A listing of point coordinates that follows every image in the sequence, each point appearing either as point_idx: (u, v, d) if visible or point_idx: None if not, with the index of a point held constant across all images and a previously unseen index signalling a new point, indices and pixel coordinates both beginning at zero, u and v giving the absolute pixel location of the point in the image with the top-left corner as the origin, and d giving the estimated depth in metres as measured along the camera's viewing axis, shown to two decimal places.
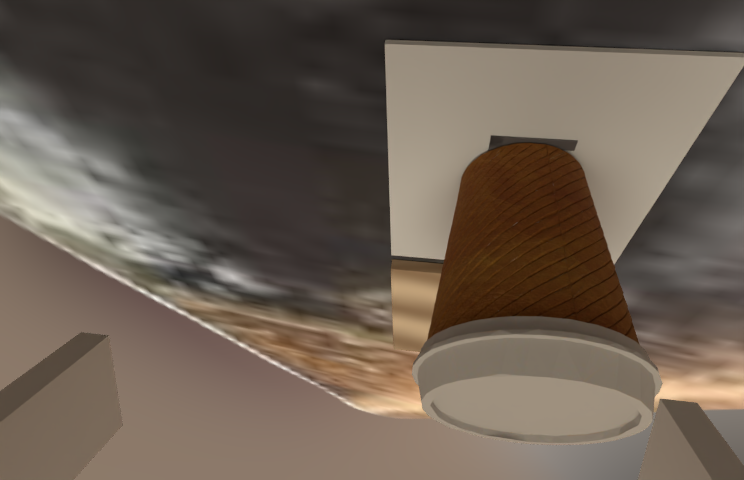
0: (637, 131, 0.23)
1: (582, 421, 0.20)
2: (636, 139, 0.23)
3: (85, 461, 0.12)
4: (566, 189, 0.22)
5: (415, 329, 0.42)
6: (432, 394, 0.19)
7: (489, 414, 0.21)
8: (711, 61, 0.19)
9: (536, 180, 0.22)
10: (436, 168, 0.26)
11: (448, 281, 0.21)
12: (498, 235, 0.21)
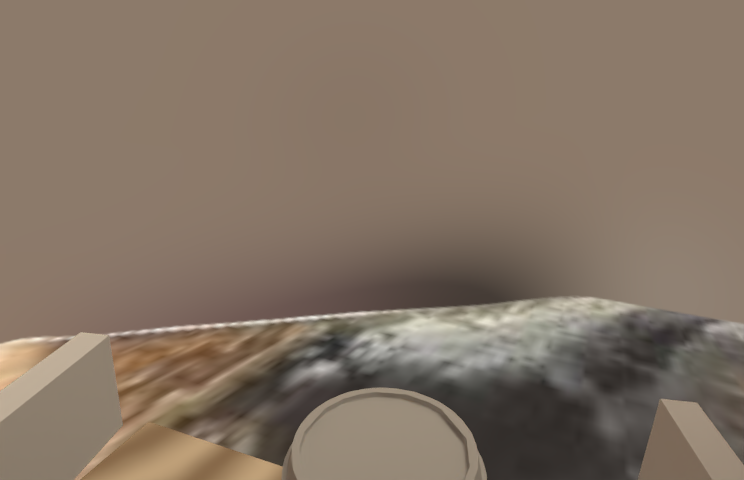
0: None
1: None
2: None
3: (85, 461, 0.12)
4: None
5: (178, 454, 0.38)
6: (430, 401, 0.26)
7: (363, 423, 0.25)
8: None
9: None
10: None
11: None
12: None
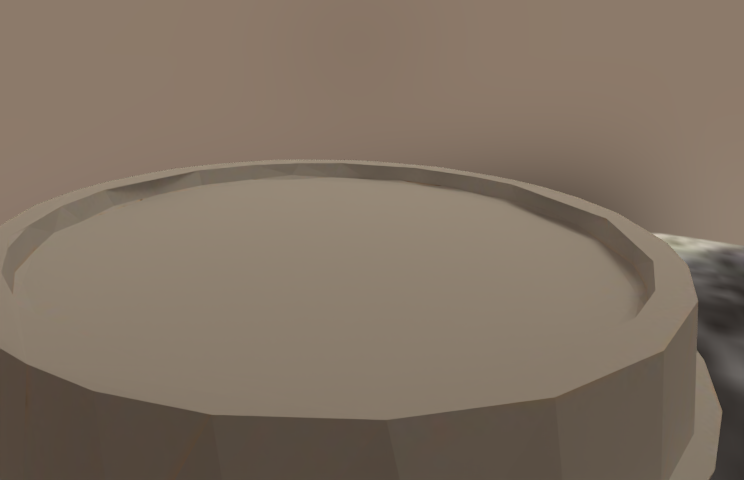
0: None
1: (168, 283, 0.06)
2: None
3: None
4: None
5: None
6: (480, 176, 0.10)
7: (293, 201, 0.09)
8: None
9: None
10: None
11: None
12: None
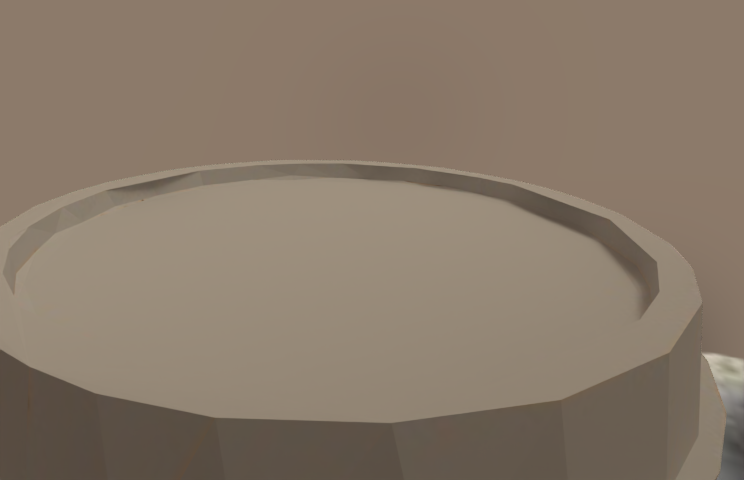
0: None
1: (170, 285, 0.05)
2: None
3: None
4: None
5: None
6: (482, 176, 0.10)
7: (295, 202, 0.09)
8: None
9: None
10: None
11: None
12: None
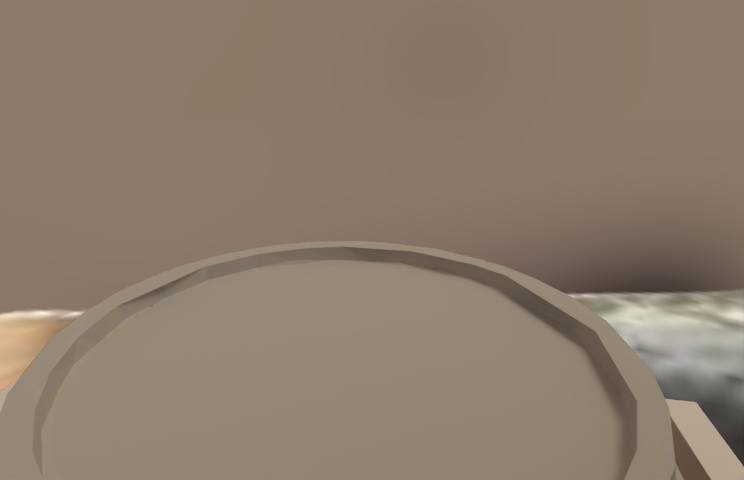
0: None
1: (185, 439, 0.06)
2: None
3: None
4: None
5: None
6: (476, 262, 0.10)
7: (297, 301, 0.09)
8: None
9: None
10: None
11: None
12: None
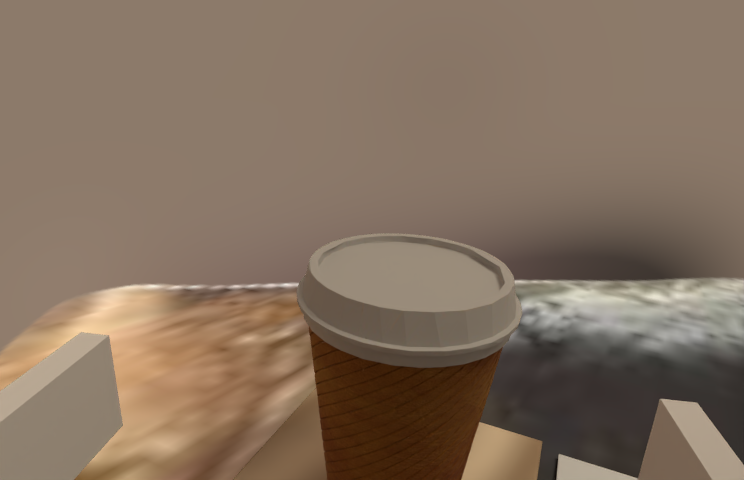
0: None
1: (366, 287, 0.20)
2: None
3: (86, 461, 0.12)
4: None
5: None
6: (459, 244, 0.24)
7: (386, 255, 0.23)
8: None
9: (464, 466, 0.23)
10: None
11: None
12: None
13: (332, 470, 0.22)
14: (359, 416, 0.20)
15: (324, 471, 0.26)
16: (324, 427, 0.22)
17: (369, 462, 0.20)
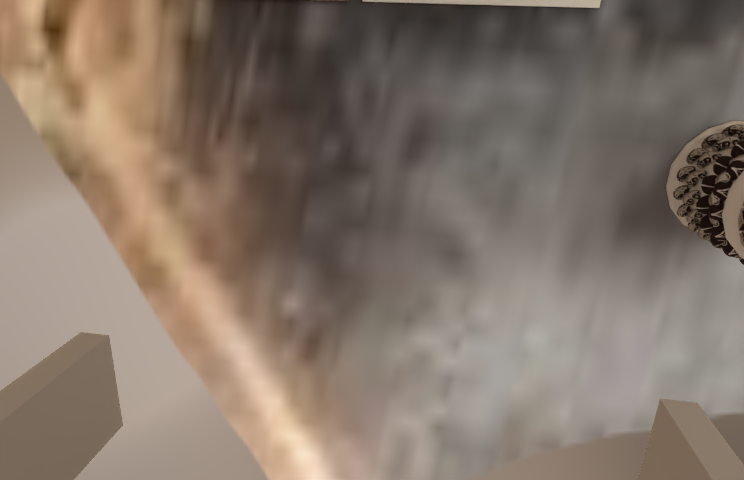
0: None
1: None
2: None
3: (85, 461, 0.12)
4: None
5: None
6: None
7: None
8: None
9: None
10: None
11: None
12: None
13: None
14: None
15: None
16: None
17: None
